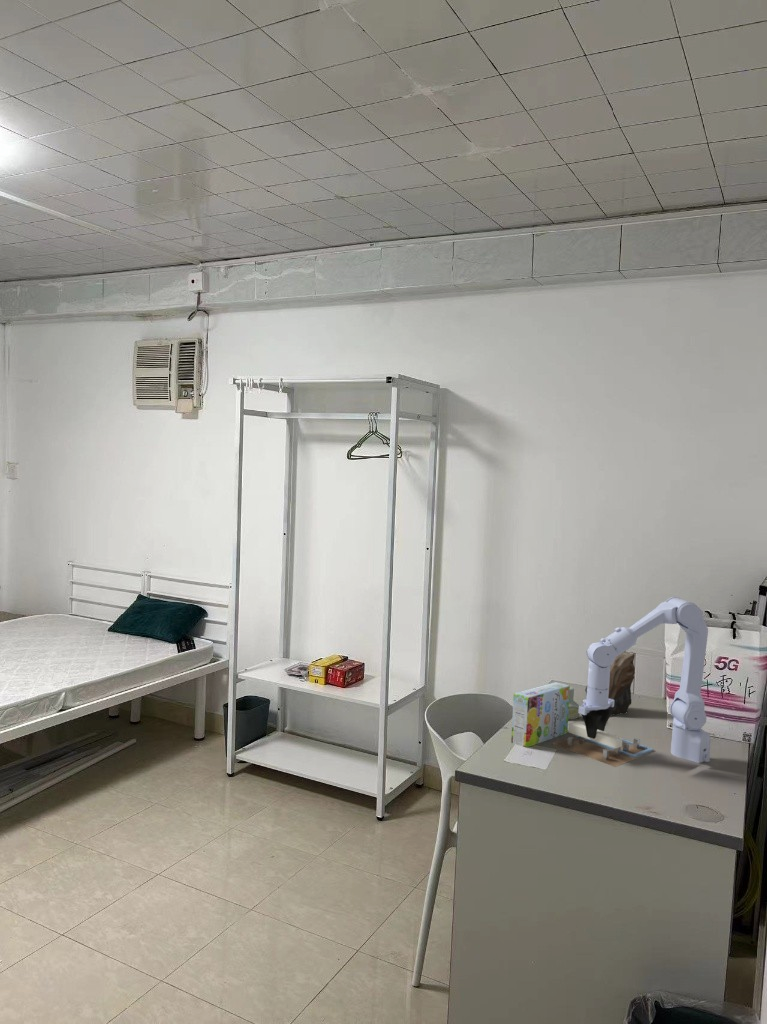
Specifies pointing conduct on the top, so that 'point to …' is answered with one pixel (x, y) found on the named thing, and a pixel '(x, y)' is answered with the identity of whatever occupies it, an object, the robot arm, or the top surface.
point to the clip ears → (606, 751)
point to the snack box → (540, 714)
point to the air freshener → (572, 706)
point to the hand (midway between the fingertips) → (594, 736)
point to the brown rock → (621, 682)
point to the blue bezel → (621, 750)
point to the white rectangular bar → (600, 736)
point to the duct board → (600, 752)
